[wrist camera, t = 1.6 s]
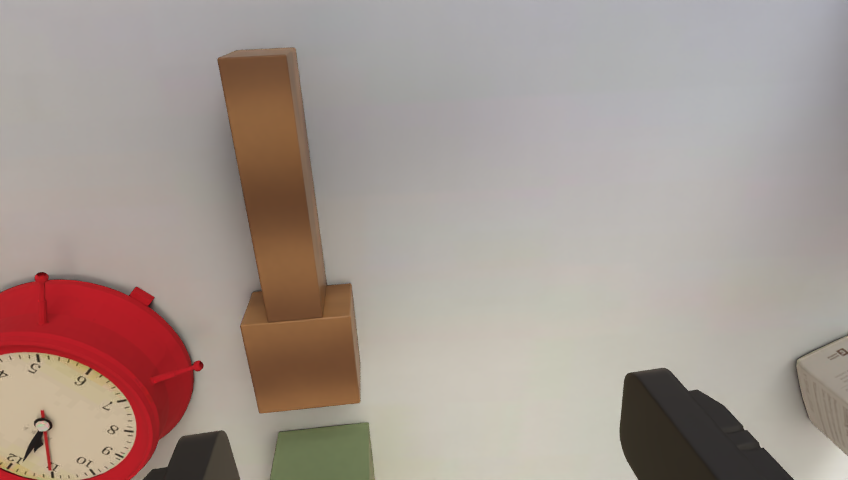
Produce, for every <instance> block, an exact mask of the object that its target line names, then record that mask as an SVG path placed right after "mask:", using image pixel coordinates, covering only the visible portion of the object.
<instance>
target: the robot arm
mask: <svg viewBox="0 0 848 480" xmlns="http://www.w3.org/2000/svg"><path fill="white" fill-rule="evenodd" d="M620 440H621V445H622V449H623V452H624V455H625V457H626V459H627V462H628V463H629V465H630V467H631V468H632V470H633V472H634V473H635V475H636V477H637V478H638V480H794V479H793V478H792V477H791V476H790V475H789V474H788V473H787V472H786V471H785V470H784V469H783V468H782V467H781V466H780V465H779V463H778V462H777V461H776V460H775V459H774V458H773V457H772V456H771V455H770V454H769V453H768V452H767V451H766V450H765V449H764V448H761V447H760V445H759V442H758V441H757V440H756V439H755V438H754V437H753V436H752V435H751V434H750V433H749V432H748V431H747V430H744V429H743V425H742V424H741V423H740V422H739V421H738V420H737V419H736V418H735V417H734V416H733V415H732V414H731V413H730V412H729V411H728V410H727V408H726V407H725V406H724V405H722V404H720V403H719V402H717V401H715V400H714V399H712V398H710V397H709V396H707V395H705V394H704V393H702V392H701V391H699V390H692V391H688V390H687V389H686V388H685V387H684V386H683V385H682V384H681V382H680V381H679V380H678V379H677V378H676V377H675V376H674V375H673V373H672V372H671V371H669V370H668V369H666V368H659V369H652V370H645V371H638V372H631V373H628V374H627V375H626V376H625V379H624V388H623V399H622V410H621V420H620ZM143 480H240V477H239V474H238V470H237V467H236V463H235V460H234V457H233V453H232V450H231V446H230V443H229V440H228V437H227V434H226V433H225V432H224V431H222V430H221V431H214V432H208V433H201V434H194V435H187V436H182V437H181V438H180V439H179V441H178V443H177V445H176V447H175V450H174V452H173V455H172V457H171V460H170V462H169V465H168V467H166V468H159V469H152V470H151V471H150V473H149V474H148V475H147V476H146V477H145V478H144V479H143Z"/></svg>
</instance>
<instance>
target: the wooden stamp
mask: <svg viewBox="0 0 848 480" xmlns="http://www.w3.org/2000/svg"><path fill="white" fill-rule="evenodd" d="M218 65H219V70H220V76H221V81H222V86H223V91H224V96H225V102H226V107H227V112H228V117H229V123H230V128H231V133H232V138H233V143H234V149H235V154H236V159H237V164H238V169H239V175H240V180H241V185H242V190H243V196H244V201H245V206H246V211H247V216H248V222H249V227H250V232H251V237H252V242H253V248H254V253H255V258H256V263H257V268H258V274H259V279H260V284H261V289H262V291H257V292H253V293H252V295H251V298H250V301H249V303H248V306H247V309H246V312H245V314H244V317H243V320H242V323H241V325H240V328H241V332H242V337H243V341H244V346H245V350H246V355H247V360H248V364H249V369H250V373H251V378H252V383H253V387H254V392H255V396H256V401H257V405H258V410H259V413H269V412H279V411H288V410H298V409H307V408H317V407H326V406H336V405H345V404H354V403H360V357H359V347H358V338H357V329H356V320H355V311H354V302H353V293H352V285H351V284H350V283H349V284H338V285H327V283H326V275H325V267H324V260H323V252H322V245H321V237H320V230H319V222H318V214H317V207H316V199H315V192H314V184H313V177H312V169H311V161H310V154H309V146H308V139H307V131H306V124H305V116H304V108H303V101H302V93H301V86H300V78H299V71H298V63H297V55H296V49H295V48H294V47H293V48H272V49H252V50H236V51H234V52H231V53H229V54H226V55H224V56H222V57H219V58H218Z"/></svg>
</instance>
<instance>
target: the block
mask: <svg viewBox="0 0 848 480" xmlns="http://www.w3.org/2000/svg"><path fill="white" fill-rule="evenodd" d="M270 480H375V478H374V468H373V459H372V450H371V440H370V431H369V423H358V424H349V425H340V426H331V427H322V428H312V429H303V430H294V431H285V432H279V433H278V439H277V444H276V449H275V455H274V460H273V465H272V471H271V476H270Z"/></svg>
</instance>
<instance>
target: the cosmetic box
mask: <svg viewBox="0 0 848 480" xmlns="http://www.w3.org/2000/svg"><path fill="white" fill-rule="evenodd" d="M796 367H797V373H798V378H799V384H800V388H801V392H802V396H803V400H804V403H805V407H806V410H807V413H808V416H809V418H810V420H811V422H812V423H813V425H814V426H815V427H817V428H818V429H819V430H820V431H821V432H822V433H823V434H824V435H825V436H826V437H827V438H829V439H830V440H831V441H832V442H833V443H834V444H835V445H836V446H837V447H839V448H840V449H841V450H842V451H843V452H844V453H845V454H846V455H847V456H848V336H846V337H843V338H841V339H838V340H836V341H834V342H832V343H830V344H828V345H826V346H824V347H821V348H819V349H817V350H815V351H813V352H811V353H809V354H807V355H805V356H803V357H801V358H799V359H798V360H797V365H796Z"/></svg>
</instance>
